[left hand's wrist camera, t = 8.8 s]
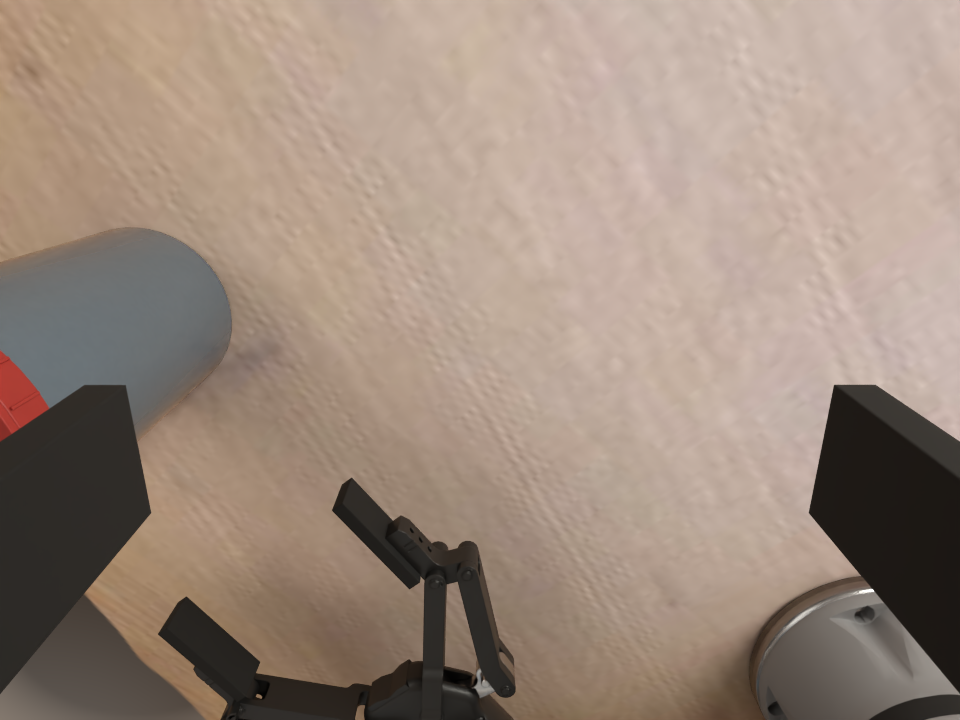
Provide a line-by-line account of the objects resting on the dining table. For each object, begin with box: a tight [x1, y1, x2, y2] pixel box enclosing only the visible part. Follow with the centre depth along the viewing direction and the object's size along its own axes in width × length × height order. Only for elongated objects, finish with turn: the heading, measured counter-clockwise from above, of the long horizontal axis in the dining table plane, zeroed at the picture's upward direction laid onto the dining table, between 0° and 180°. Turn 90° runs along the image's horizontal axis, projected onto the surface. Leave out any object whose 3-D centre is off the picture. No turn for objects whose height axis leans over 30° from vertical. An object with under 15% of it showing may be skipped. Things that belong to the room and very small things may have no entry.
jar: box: [0, 228, 232, 442], centre depth 31 cm, size 10×10×19 cm
